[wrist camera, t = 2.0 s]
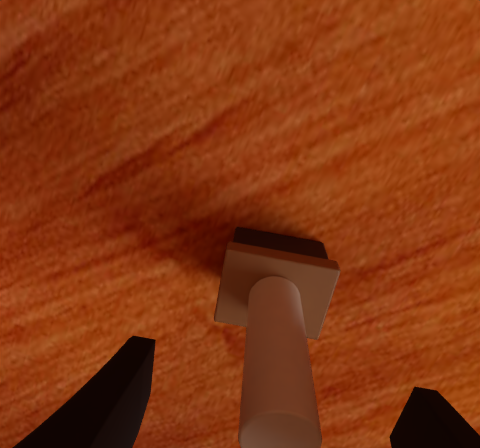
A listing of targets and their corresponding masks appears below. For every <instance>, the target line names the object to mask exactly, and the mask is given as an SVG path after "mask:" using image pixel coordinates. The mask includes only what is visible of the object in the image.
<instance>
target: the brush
mask: <svg viewBox="0 0 480 448" xmlns="http://www.w3.org/2000/svg"><path fill="white" fill-rule="evenodd" d="M339 274H340V268H339V266H338V263H337V262H336V261H333V260H329V259H328V256H327V253H326V250H325V247H324V244H323V243H322V242H316V241H311V240H305V239H300V238H295V237H289V236H284V235H278V234H273V233H267V232H262V231H256V230H251V229H246V228H240V227H236V229H235V234H234V239H233V242H228V243H227V247H226V252H225V258H224V264H223V269H222V275H221V281H220V287H219V292H218V298H217V304H216V310H215V315H214V321H217V322H222V323H228V324H233V325H239V326H244V327H247V328H246V341H245V354H244V367H243V381H242V394H241V407H240V420H239V433H238V439H239V443H240V446H241V448H320V447H321V443H322V435H321V429H320V422H319V416H318V409H317V403H316V396H315V390H314V383H313V377H312V370H311V364H310V357H309V351H308V344H307V338H310V339H316V340H317V339H318V338H319V335H320V332H321V329H322V326H323V323H324V320H325V317H326V314H327V310H328V307H329V304H330V301H331V298H332V295H333V292H334V289H335V286H336V283H337V280H338V277H339Z"/></svg>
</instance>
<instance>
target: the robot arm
mask: <svg viewBox="0 0 480 448" xmlns="http://www.w3.org/2000/svg"><path fill="white" fill-rule="evenodd" d="M154 351H155V340H154V339H149V338H143V337H138V336H132V337H131V338H129V339H128V340H127V342H126V343H125V344H124V345H123V346H122V347H121V348H120V349H119V350H118V352H117V353H116V354H115V355H114V356H113V357H112V358H111V359H110V360H109V361H108V362H107V363H106V364H105V365H104V366H103V367H102V368H101V369H100V370H99V371H98V372H97V373H96V374H95V375H94V376H93V377H92V378H91V379H90V380H89V381H88V382H87V383H86V384H85V385H84V386H83V387H82V388H81V389H80V390H79V391H78V392H77V393H76V394H75V395H74V396H73V397H71V398H70V399H69V400H68V401H67V402H66V403H65V404H64V405H63V406H61V407H60V408H59V409H58V410H57V411H56V412H55V413H53V414H52V415H51V416H50V417H49V418H48V419H47V420H45V421H44V422H43V423H42V424H41V425H40V426H39V427H37V428H36V429H35V430H34V431H33V432H31V433H30V434H29V435H28V436H26V437H25V438H24V439H23V440H22V441H20V442H19V443H18V444H17V445H15V446H14V447H13V448H132V447H133V444H134V442H135V440H136V437H137V435H138V432H139V429H140V426H141V423H142V419H143V416H144V413H145V410H146V406H147V403H148V400H149V397H150V392H151V382H152V372H153V361H154ZM390 441H391V447H392V448H480V436H479V434H478V433H477V432H476V431H475V430H474V429H473V428H472V427H471V426H470V425H469V424H468V423H467V422H466V421H465V419H464V418H463V417H462V416H461V415H460V414H459V413H458V412H457V411H456V410H455V409H454V408H453V407H452V406H451V405H450V404H449V403H448V401H447V400H446V399H445V398H444V397H443V396H442V395H441V394H440V393H439V392H438V391H436V390H430V389H425V388H419V387H414V389H413V391H412V393H411V395H410V397H409V399H408V401H407V403H406V405H405V407H404V409H403V411H402V413H401V415H400V417H399V419H398V421H397V423H396V425H395V427H394V429H393V431H392V433H391V435H390Z"/></svg>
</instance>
